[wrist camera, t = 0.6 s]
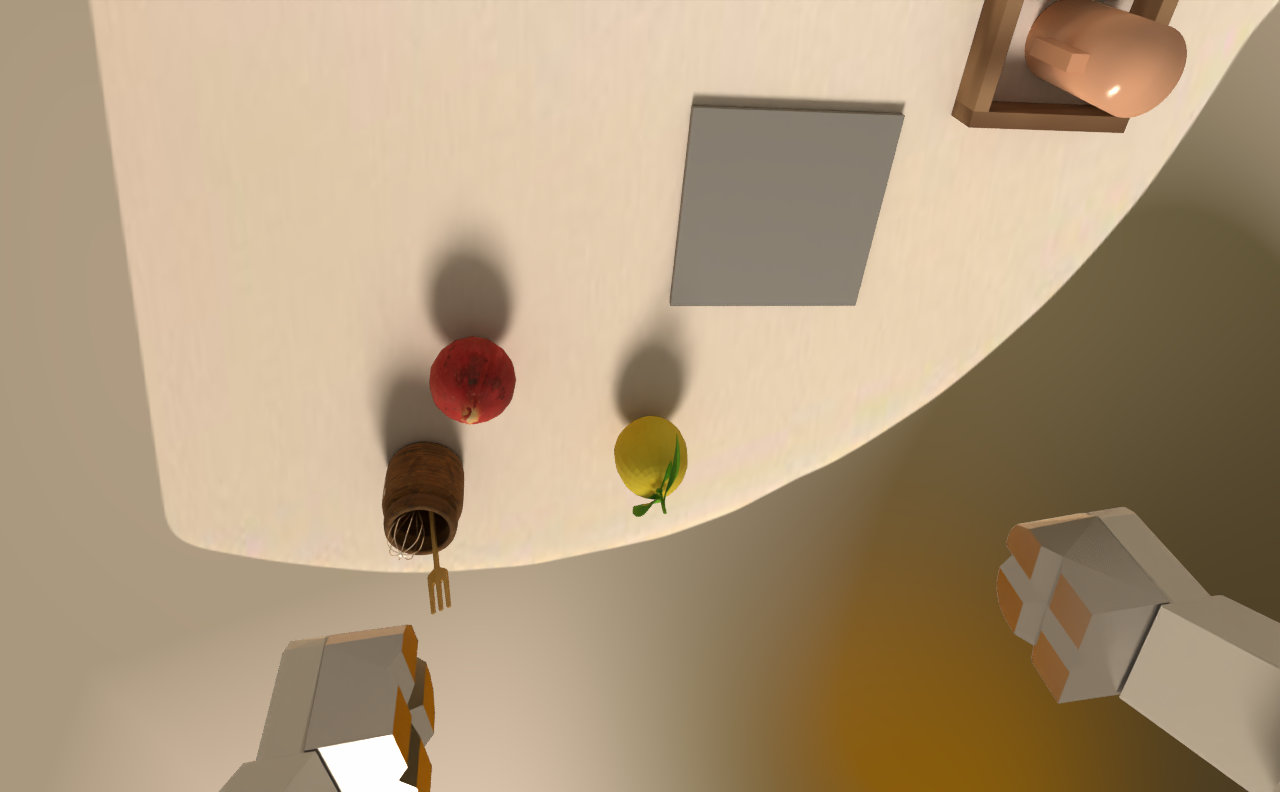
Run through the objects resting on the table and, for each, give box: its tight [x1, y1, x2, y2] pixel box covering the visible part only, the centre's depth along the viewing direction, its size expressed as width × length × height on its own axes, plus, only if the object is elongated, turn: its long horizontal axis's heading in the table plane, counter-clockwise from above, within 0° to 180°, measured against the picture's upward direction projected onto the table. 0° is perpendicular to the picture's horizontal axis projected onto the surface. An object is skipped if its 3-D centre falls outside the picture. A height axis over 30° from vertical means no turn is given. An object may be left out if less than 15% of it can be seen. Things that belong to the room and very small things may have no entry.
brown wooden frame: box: [952, 0, 1179, 133], centre depth 52 cm, size 10×11×2 cm
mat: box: [670, 105, 905, 306], centre depth 57 cm, size 14×14×1 cm
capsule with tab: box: [1025, 0, 1187, 118], centre depth 49 cm, size 5×6×8 cm
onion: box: [429, 336, 516, 424], centre depth 57 cm, size 6×6×8 cm
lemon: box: [614, 416, 687, 517], centre depth 62 cm, size 7×6×10 cm
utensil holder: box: [382, 442, 464, 614], centre depth 61 cm, size 6×6×12 cm
